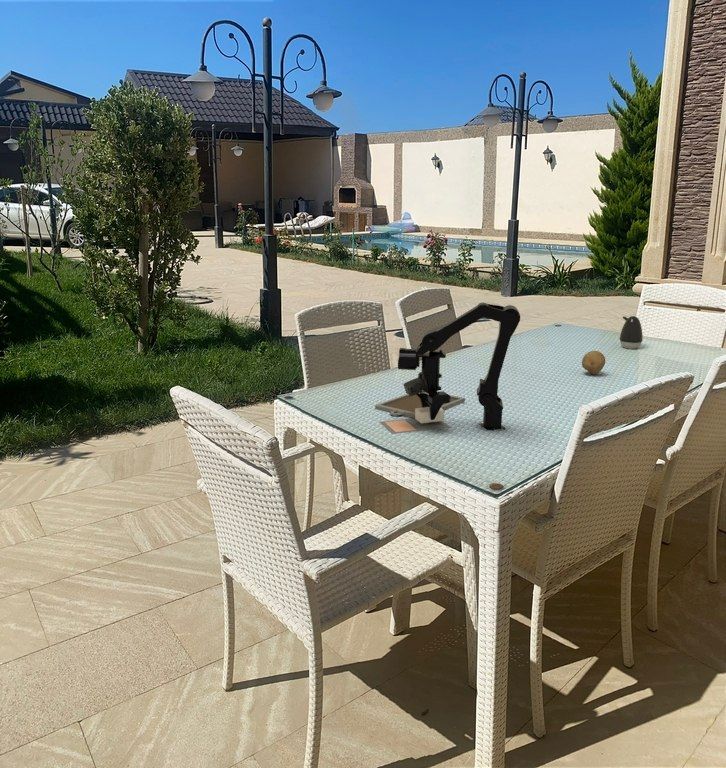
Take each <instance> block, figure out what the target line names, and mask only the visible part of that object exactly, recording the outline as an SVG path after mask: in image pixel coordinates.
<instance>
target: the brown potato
mask: <svg viewBox="0 0 726 768" xmlns="http://www.w3.org/2000/svg"><path fill="white" fill-rule="evenodd" d="M605 364H606V357H605V355H604V354H603V353H602V352H601V351H598V350H590V351H588V352H587V353H585V354H584V355H583V357H582V360H581V366H582V368H583V369H584V370H585V371H587V372H589V373H590V374H591V375H597V374H599V373H600V372H601V371H602V370H603V369H604V366H605Z"/></svg>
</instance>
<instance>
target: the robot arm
mask: <svg viewBox="0 0 726 768" xmlns="http://www.w3.org/2000/svg"><path fill="white" fill-rule="evenodd" d="M482 318H486V319H489V320H493V321H495V322H499V323H498V324H499V325H498V335H497V339H496V341H495V345H494V347H493V348H494V349H493V351H492V352H493V353H492V356H491V359H490V363H489V367H488V369H487V373H486V376H485V377H484V378H483V379H482V378H479V381H478V382H479V384H478V387H477V388H476V396H477V397H478V399H477V400H478V402H479V404H480V405H481V406H482V407H483V415H482V416H483V417H482V423H479V424H478V425H479V426H480V427H482V428H483V429H485V430H487V431H494V430H504V431H505V430H506V427H505V426H503V425H502V421H503V410H504V405H503V400H502V398H501V397H500V396H499V395H498V391H499V390H498V389H499V379H500V377H501V376H500V375H501V372H502V370H503V366H504V361H505V358H506V355H507V352H508V348H509V344H510V340H511V338H512V336H513V334H514V333H515V331H517V330H516V329H517V328H518V325H519V324H520V321H521V314H520V312H519V310H518V308H517V307H516V306H514V305H513V304H512V305H511V304H510V305H509V304H508V305H505V306H502V305H500V304H499V305H498V304H492V303H487V302H485V301H484V302H482V301H481V302H480V303H478V304H477V305H476V306H474V307H473V308H471V309H469V310H468V311H466V312H464V313H462V314H461V315H459V316H458V317H456V318H454V319H453V320H451V321H449V322H447V323H445V324H444V325H440V326H436V327H434V328H431V329H428V330H427V331H425V332H424V333H423V335H422V340H421V342H420V343H419V344H418V345H417V347H416V348H405V347H400V348H399V349H398V351H399V352H398V360H397V370H405V371H406V370H408V371H416V370H417V369H418V368H420V365H421V371H420V372H418V374H417V377H416V378H412V379H411V380H409V381H406V382H404V383H403V384H402V385H403V388H404V391H405V394H409V396H414V395H415V394H416V395H417V396H418V397H419V398H420V401H421V404H422V408H424V407H429V409H430V418H431V420H434V419H435V417H436V415H437V413H438V412H439V410H440V408H441V407H442V405H443V404H444V403H450V398H451V397H450V396H449V395H450V394H449V393H447V392H445V391H442V386H440V379H441V378H442V377H443V374H442V373H440V366H441V365H440V364H441V359H446V357H447V353H446V352H444V351H443V349H442V348H441V347H442V346H443V345H444V344H445V343H446V342H447V341H448V340H449V339H450V338H451V337H452V336H454V335H456V334H458V333H460V332H461V331H463V330H464V329H466V328H468V327H469V326H471V325H473V324H475V323H476V322H478V321H479V320H481V319H482ZM439 348H440V349H439ZM438 349H439V350H438ZM437 350H438V351H437Z"/></svg>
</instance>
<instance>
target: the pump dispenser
mask: <svg viewBox="0 0 726 768" xmlns="http://www.w3.org/2000/svg"><path fill="white" fill-rule="evenodd" d="M622 319H623V320H625V322H624V323H623V325H622V328H621V330H620V335H619V341H620V344H621V347H623V348H625V349H627V350H636V349H638V348H640V346H641V344H642V342H643V340H644V338H643V337H644V335H643V328H642V323H641V321H640V320H639V318H638V317H637V316H635V315H632V316H631V315H630V316H629V317H626V316H625V315H624V316H622Z"/></svg>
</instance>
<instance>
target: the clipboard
mask: <svg viewBox="0 0 726 768" xmlns="http://www.w3.org/2000/svg"><path fill="white" fill-rule="evenodd" d="M448 395H449V396H450V397H451V398H450V403H444V404H443V405H442V407H441V408H442V409H443V410H444V411H446V410H449V409H451V408H453V407H455V406H459V405H460V404H463V403H465V401H466V398H465V397H463V396H458V395H452V394H448ZM415 408H422V404H421V401H420V398H419V397H418V396H417V395H416V394H415V395H414V396H409V394H407V393H405V394H403V395H400V396H398V397H395V398H392V399H389V400H386V401H382V402H380V403H378V404H377V403H376V404H375V405H374V409H375V410H378V411H382V412H387V413H389V414H390V416H394V417H396V416H401V417H402V416H403V417H406V418H409V419H412V418H415Z"/></svg>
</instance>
